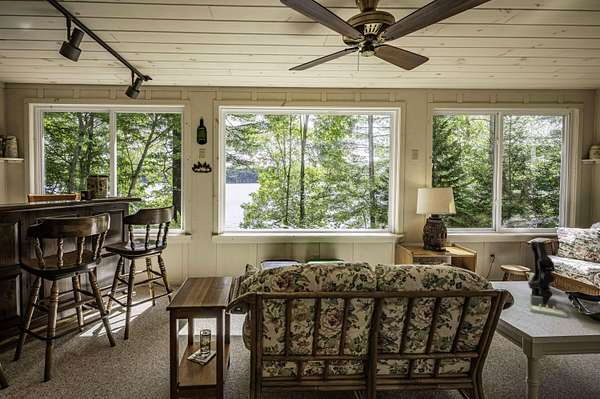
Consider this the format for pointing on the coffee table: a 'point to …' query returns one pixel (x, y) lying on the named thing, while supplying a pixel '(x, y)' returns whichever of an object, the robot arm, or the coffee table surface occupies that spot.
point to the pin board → (547, 310)
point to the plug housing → (538, 300)
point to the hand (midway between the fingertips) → (543, 302)
